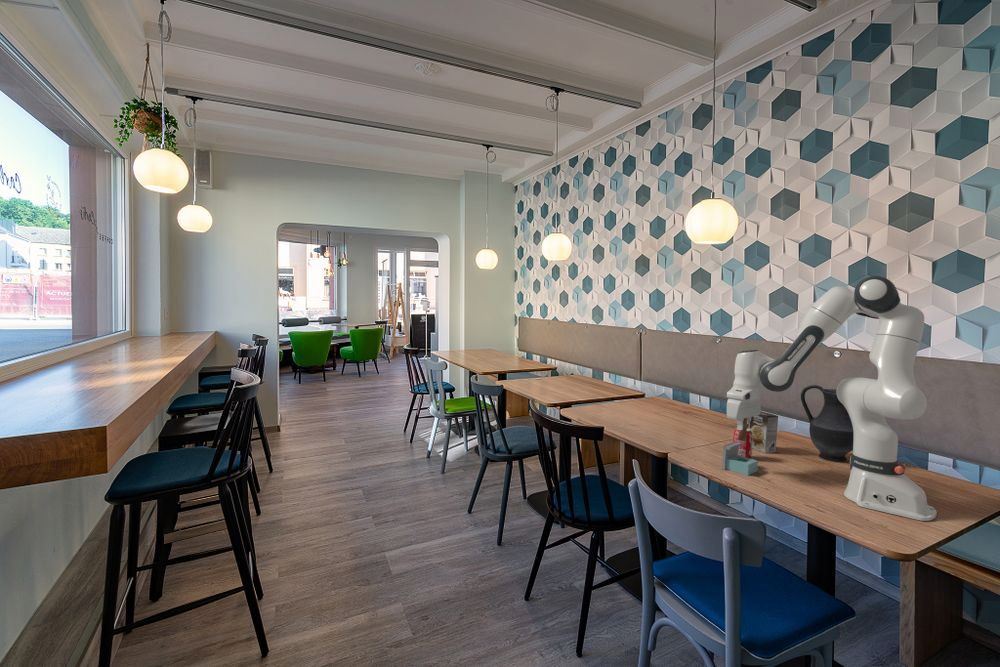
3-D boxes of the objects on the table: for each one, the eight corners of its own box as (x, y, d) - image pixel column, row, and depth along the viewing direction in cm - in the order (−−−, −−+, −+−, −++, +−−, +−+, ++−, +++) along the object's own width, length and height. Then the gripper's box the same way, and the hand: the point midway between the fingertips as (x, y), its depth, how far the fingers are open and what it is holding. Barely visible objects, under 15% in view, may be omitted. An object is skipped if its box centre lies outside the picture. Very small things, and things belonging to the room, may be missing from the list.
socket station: (758, 470, 177) (759, 447, 176) (746, 476, 170) (747, 451, 170) (734, 464, 184) (735, 441, 183) (722, 469, 177) (723, 445, 177)
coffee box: (747, 447, 207) (749, 411, 206) (759, 446, 209) (761, 410, 208) (764, 453, 199) (766, 415, 198) (776, 452, 200) (778, 415, 200)
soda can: (747, 455, 195) (748, 427, 194) (754, 460, 188) (756, 431, 187) (729, 454, 196) (731, 426, 195) (736, 459, 189) (738, 430, 188)
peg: (747, 440, 176) (749, 413, 175) (743, 441, 174) (745, 414, 174) (740, 438, 178) (741, 412, 178) (736, 439, 176) (738, 413, 176)
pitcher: (860, 468, 182) (866, 392, 180) (797, 458, 192) (801, 386, 191) (855, 457, 196) (860, 386, 195) (796, 448, 207) (800, 381, 205)
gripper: (749, 389, 184) (747, 423, 185) (724, 393, 171) (721, 430, 172) (766, 392, 179) (763, 427, 180) (742, 396, 166) (739, 434, 167)
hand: (743, 429), depth 176 cm, fingers closed on peg, 3 cm apart
